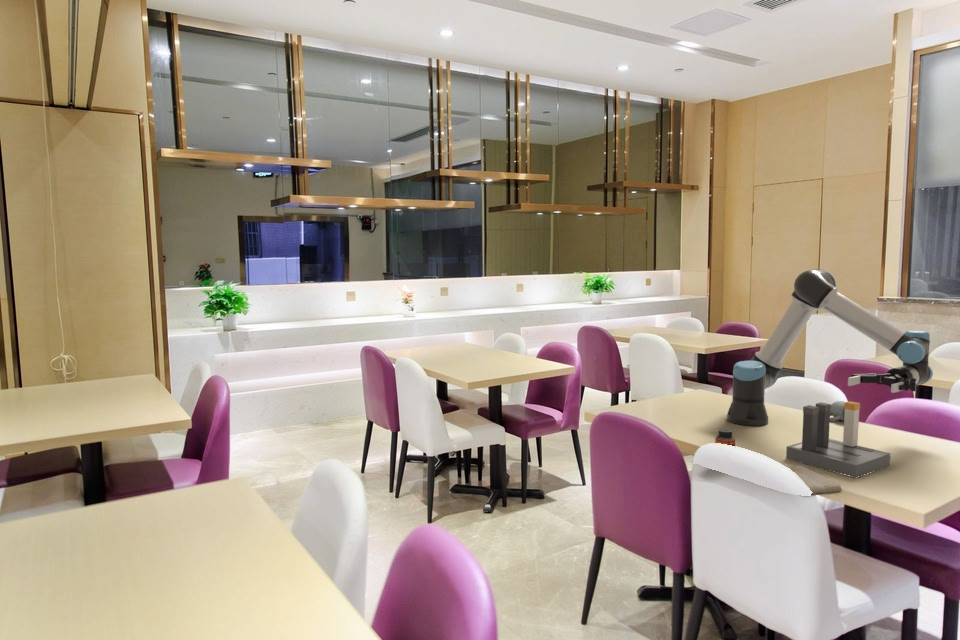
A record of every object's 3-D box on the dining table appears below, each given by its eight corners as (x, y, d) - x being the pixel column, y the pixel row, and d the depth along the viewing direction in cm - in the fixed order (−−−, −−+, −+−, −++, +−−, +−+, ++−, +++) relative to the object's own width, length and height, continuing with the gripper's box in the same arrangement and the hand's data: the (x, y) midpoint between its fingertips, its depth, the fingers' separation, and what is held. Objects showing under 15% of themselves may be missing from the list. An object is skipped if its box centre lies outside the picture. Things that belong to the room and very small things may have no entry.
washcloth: (798, 471, 195) (798, 462, 195) (843, 493, 178) (844, 482, 177) (764, 475, 192) (764, 465, 192) (807, 497, 175) (808, 486, 175)
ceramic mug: (844, 416, 257) (845, 398, 256) (859, 422, 249) (859, 403, 248) (820, 418, 255) (821, 399, 254) (834, 423, 247) (835, 404, 246)
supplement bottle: (735, 463, 202) (736, 428, 200) (734, 469, 196) (735, 433, 195) (715, 461, 204) (716, 426, 203) (713, 466, 199) (714, 431, 198)
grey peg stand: (786, 458, 206) (788, 404, 204) (820, 447, 217) (822, 396, 215) (856, 478, 188) (859, 419, 186) (889, 465, 198) (893, 409, 196)
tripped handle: (842, 444, 206) (844, 402, 205) (847, 442, 208) (850, 401, 206) (852, 447, 203) (854, 404, 202) (857, 445, 205) (860, 403, 204)
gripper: (942, 394, 210) (911, 403, 199) (863, 382, 231) (831, 389, 220) (943, 372, 209) (912, 379, 198) (864, 362, 230) (832, 368, 219)
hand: (870, 385), depth 209 cm, fingers open, 13 cm apart
